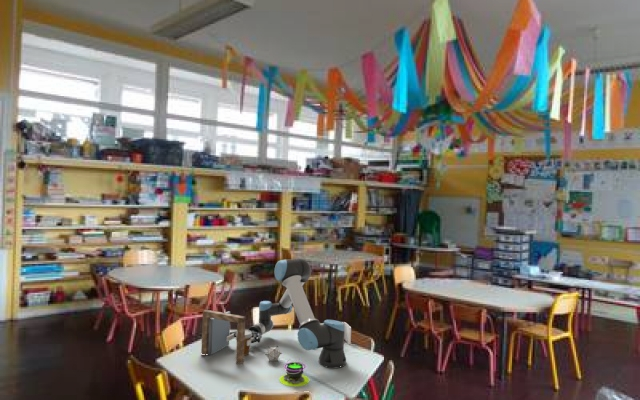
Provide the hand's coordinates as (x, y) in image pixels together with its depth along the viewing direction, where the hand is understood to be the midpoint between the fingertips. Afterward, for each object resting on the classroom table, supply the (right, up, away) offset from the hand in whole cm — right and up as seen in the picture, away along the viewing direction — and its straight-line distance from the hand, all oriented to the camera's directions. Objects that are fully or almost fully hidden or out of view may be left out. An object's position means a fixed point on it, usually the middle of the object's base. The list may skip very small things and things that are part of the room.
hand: (237, 341), depth 260 cm
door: (-12, -6, +5) cm, 15 cm away
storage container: (+52, -9, +26) cm, 59 cm away
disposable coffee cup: (+3, -8, +3) cm, 9 cm away
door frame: (-7, -7, -7) cm, 12 cm away
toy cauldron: (+34, -11, -30) cm, 46 cm away
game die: (+21, -9, -7) cm, 24 cm away
